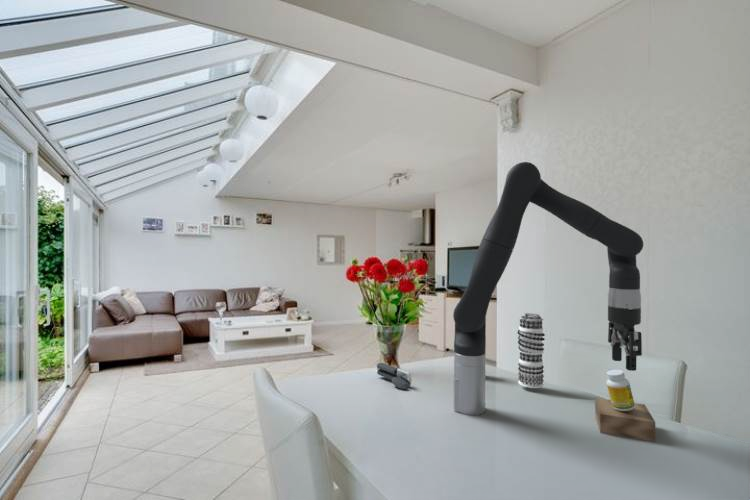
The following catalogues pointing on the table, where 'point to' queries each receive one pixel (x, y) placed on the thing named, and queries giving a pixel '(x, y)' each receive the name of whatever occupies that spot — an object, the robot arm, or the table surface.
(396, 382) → the can opener
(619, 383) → the supplement bottle
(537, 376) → the decorative candle
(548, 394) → the table surface
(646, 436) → the brown wooden block
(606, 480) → the table surface
